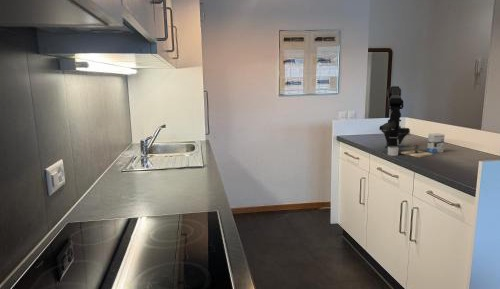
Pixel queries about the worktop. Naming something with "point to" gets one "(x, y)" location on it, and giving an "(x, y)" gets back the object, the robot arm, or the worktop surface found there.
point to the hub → (393, 150)
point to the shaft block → (416, 152)
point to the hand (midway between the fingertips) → (393, 142)
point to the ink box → (435, 143)
